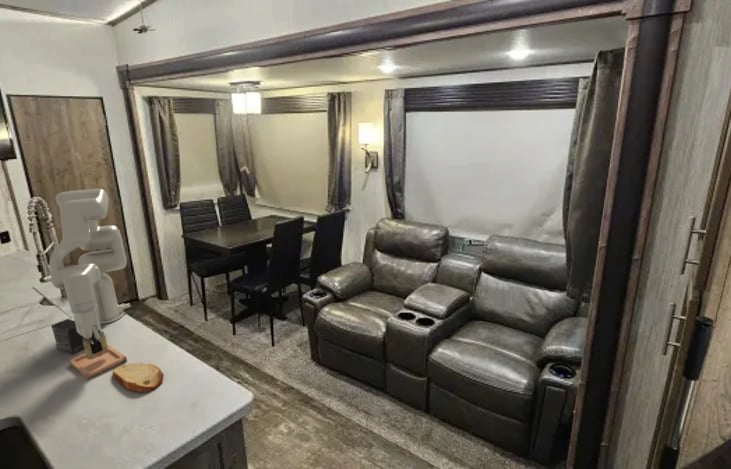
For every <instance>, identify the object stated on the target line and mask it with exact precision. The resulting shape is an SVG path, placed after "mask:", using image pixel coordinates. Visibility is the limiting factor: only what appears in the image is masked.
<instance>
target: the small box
mask: <svg viewBox="0 0 731 469" xmlns="http://www.w3.org/2000/svg"><path fill="white" fill-rule="evenodd" d="M50 327H51V329H52V332H53V336H54V340H55V344H56V347H57V348H56V349H57V350H60V351H63V352H65V353H69V354H71V355H74V354H76V353H78V352H80V351H83V350H85V348H84V344H83V340H82V339H83V338H84V337H83V336H81V335H80V334H79V333H78V332H77V330H76V325H75V320H72V319H69V318H67V319H64V320H62V321H59V322H56V323H55V324H52V325H51V326H50Z"/></svg>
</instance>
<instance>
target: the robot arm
mask: <svg viewBox="0 0 731 469" xmlns="http://www.w3.org/2000/svg"><path fill="white" fill-rule="evenodd" d="M55 202H56V204H57V206H58V207H59V213H60V214H59V215H60V216H59V217H60V224H61V233H62V234H61V235H62V240H61V242H60V243H58V244H57V246H56V247H55V249H54V250H53V251H52V253H51V256H50V258H49V274H50V280H51V283H52V286H53V287H54V288H56V289H58V290H59V289H61V290H62V289H65V292H66V297H67V300H68V304H69V308H70V311H71V313H72V314H73V315H72V316H73V321H75V325H76V330H77V332H78V333H79V334H80V335H81V336H83V337H84V338H86V339H90V342H91V344H90V346H91V350H92V353H93V354H95V353H98V352H100V351H102V350H103V349H102V345H101V340H100V339H101V337H100V335H99V334H101V332H102V331H103V330H102V326H101V325H105V324H109V323H113V322H115V321H118V320H120V319H121V318H123V317H124V315H125V311H124V310H125V309H128V308H131V303H129V302H128V303H121V304H118V298H117V296H116V291H115V287H114V286H115V285H114V282H113V279H112V278H111V276H110V275H109V274H107V273H108V272H112V271H118V270H119V271H120V270H122V269H125V268H126V267H127V264H128V261H127V255H126V254H127V253H126V250H125V247H124V241H123V238H122V233H121V231H120V229H119V228H118V227H117V226H116V225H111V224H110V225H103V226H99V224H98V220H103V219H105V218H107V216H108V211H109V210H108V209H109V208H108V207H109V202H110V200H109V196H108V194H107V192H106V191H105V190H104V189H103V188H91V189H78V190H77V189H76V190H69V191H68V190H67V191H63V192H59V193H58V194H56V195H55ZM79 248H80V249H81V250H82V251H91V252H87V253H84V254H81V256H80V257H79V259H78V264H76V265H71V266H70V265H69V266H64V267H63V266H62V263H63V262H62V261H63V260H64V258H65V257H66V256H68V254H70V253H71V252H73V251H75V250H76V249H79ZM107 248H109V249H107ZM100 249H103V250H100ZM104 249H105V250H104ZM93 250H97V251H93ZM92 334H93V335H92ZM93 337H95V338H93ZM92 338H93V339H92Z"/></svg>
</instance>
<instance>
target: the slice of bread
mask: <svg viewBox="0 0 731 469" xmlns="http://www.w3.org/2000/svg"><path fill="white" fill-rule="evenodd" d="M111 376H112V378H113V379H114V381H116V382H117V383H118V384H119V385H121V387H124V388H126V389H127V390H131V391H135V392H138V393H139V392H140V393H149V392H153V391H156V390H157V389H158V388H159V387H161V386H162V385H163V382H164V381H163V380H164V373H163V371H162V370H161V368H160V367H159V366H157V365H156V364H153V363H142V362H136V363H128V364H124V365H119V366H117V367H114V369H113V371H112V374H111Z"/></svg>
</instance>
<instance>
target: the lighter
mask: <svg viewBox="0 0 731 469" xmlns="http://www.w3.org/2000/svg"><path fill="white" fill-rule="evenodd" d="M101 331H102V332H101V334H99V335H100V337H101V339H100V340H101V345H102V349H103V350H102V351H100V352H98V353H95V354H93V353H92V350H91V346H90V344H91V342H90V339H86V338H83V339H82V340H83V344H84V351H85V353H86V356H87V359H94V358H96V357H99V356H102V355H103V354H105V353H107V352H108V351H109V349H108V345H109V344H108V342H107V338H106V334H105V331H104V330H101ZM92 335H93V334H92ZM93 338H95V337H93ZM93 338H92V339H93ZM107 344H108V345H107Z"/></svg>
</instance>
